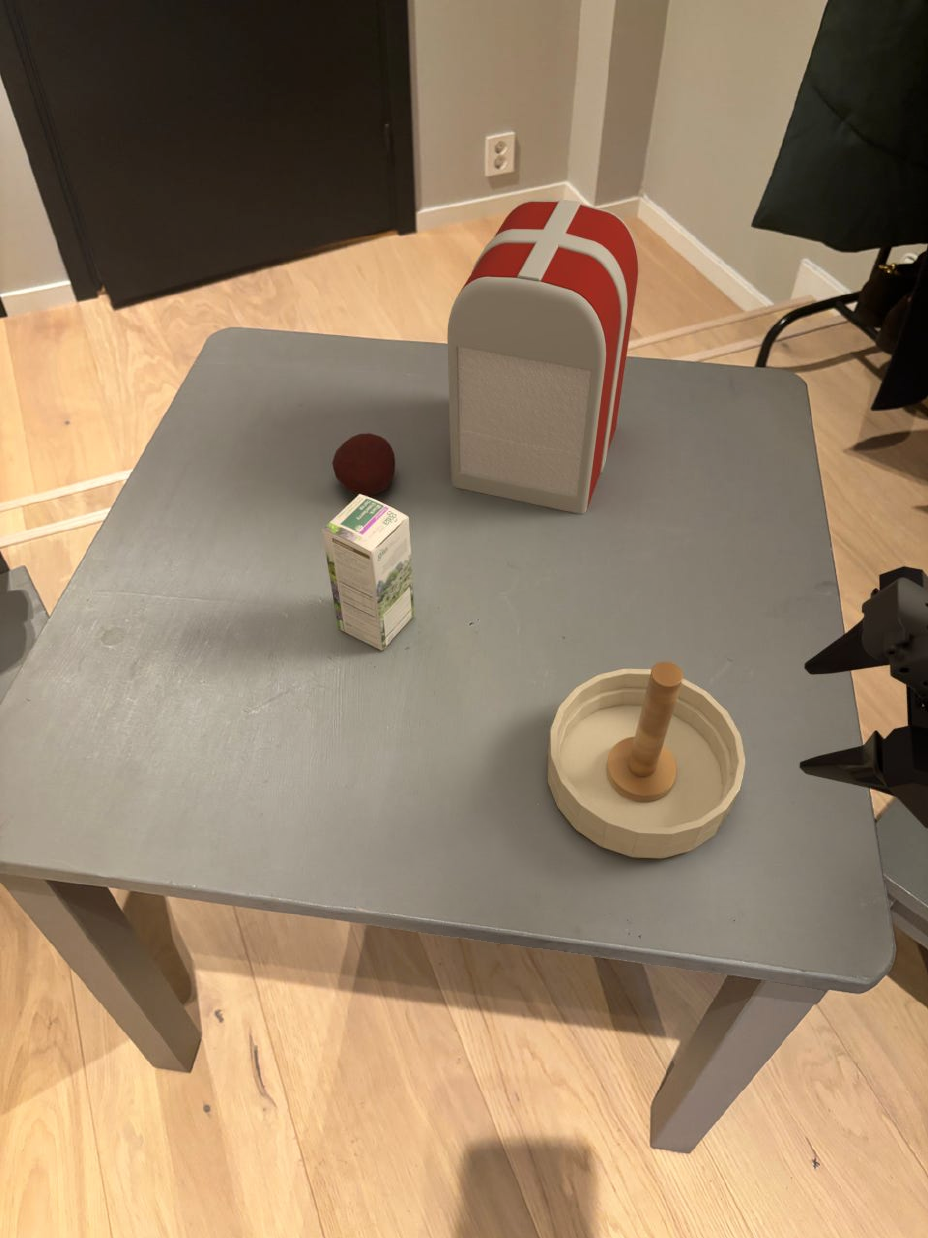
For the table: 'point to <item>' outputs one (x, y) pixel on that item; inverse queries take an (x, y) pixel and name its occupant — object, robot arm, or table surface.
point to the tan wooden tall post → (648, 742)
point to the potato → (364, 464)
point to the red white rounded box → (541, 354)
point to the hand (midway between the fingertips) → (804, 716)
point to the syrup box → (370, 570)
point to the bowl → (692, 737)
